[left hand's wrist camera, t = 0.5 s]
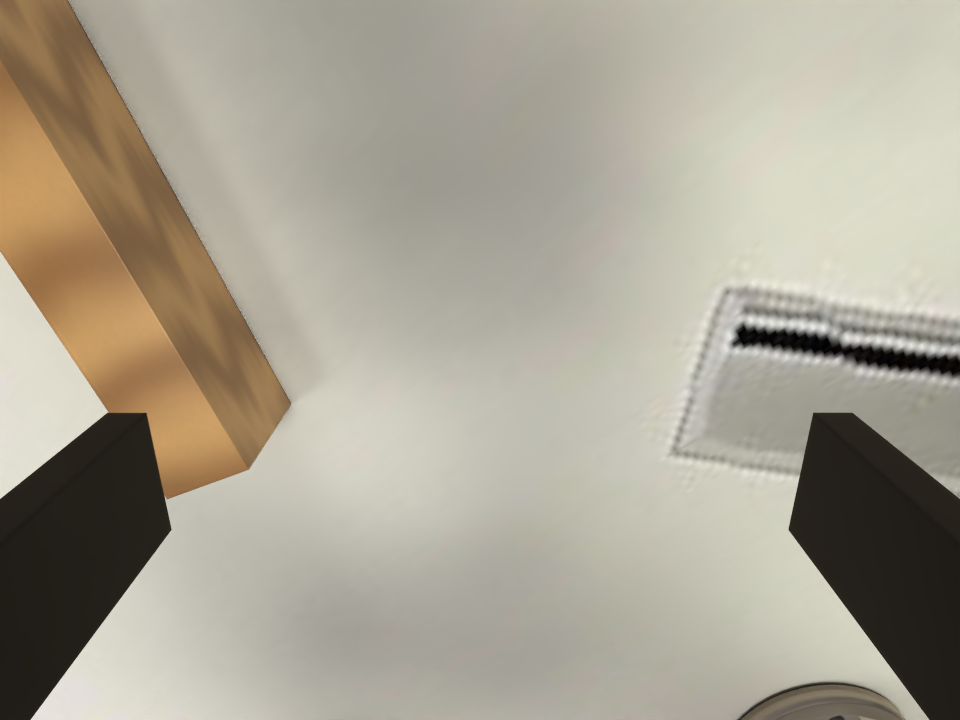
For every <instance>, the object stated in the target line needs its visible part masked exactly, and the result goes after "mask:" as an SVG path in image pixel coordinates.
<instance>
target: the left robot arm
mask: <svg viewBox="0 0 960 720" xmlns="http://www.w3.org/2000/svg"><path fill="white" fill-rule="evenodd" d="M170 531H171V525H170V520H169V516H168V511H167V506H166V502H165V497H164V492H163V487H162V483H161V478H160V473H159V469H158V464H157V459H156V455H155V450H154V445H153V441H152V436H151V431H150V426H149V422H148V417H147V413H107V414H106V415H104V416H103V417H102V418H101V419H99V420H98V421H97V422H96V423H94V424H93V425H92V426H91V427H89V428H88V429H87V430H86V431H84V432H83V433H82V434H81V435H79V436H78V437H77V438H76V439H74V440H73V441H72V442H71V443H70V444H68V445H67V446H66V447H65V448H63V449H62V450H61V451H60V452H58V453H57V454H56V455H55V456H53V457H52V458H51V459H50V460H48V461H47V462H46V463H45V464H43V465H42V466H41V467H40V468H38V469H37V470H36V471H35V472H33V473H32V474H31V475H30V476H28V477H27V478H26V479H25V480H23V481H22V482H21V483H20V484H18V485H17V486H16V487H15V488H13V489H12V490H11V491H10V492H8V493H7V494H6V495H5V496H4V497H2V498H1V499H0V720H31V718H32V717H33V716H34V714H35V713H36V712H37V710H38V709H39V708H40V706H41V705H42V703H43V702H44V701H45V699H46V698H47V697H48V695H49V694H50V693H51V691H52V690H53V689H54V687H55V686H56V685H57V683H58V682H59V681H60V679H61V678H62V677H63V675H64V674H65V672H66V671H67V670H68V668H69V667H70V666H71V664H72V663H73V662H74V660H75V659H76V658H77V656H78V655H79V654H80V652H81V651H82V650H83V648H84V647H85V646H86V644H87V643H88V641H89V640H90V639H91V637H92V636H93V635H94V633H95V632H96V631H97V629H98V628H99V627H100V625H101V624H102V623H103V621H104V620H105V619H106V617H107V616H108V615H109V613H110V612H111V610H112V609H113V608H114V606H115V605H116V604H117V602H118V601H119V600H120V598H121V597H122V596H123V594H124V593H125V592H126V590H127V589H128V588H129V586H130V585H131V584H132V582H133V581H134V579H135V578H136V577H137V575H138V574H139V573H140V571H141V570H142V569H143V567H144V566H145V565H146V563H147V562H148V561H149V559H150V558H151V557H152V555H153V554H154V553H155V551H156V550H157V548H158V547H159V546H160V544H161V543H162V542H163V540H164V539H165V538H166V536H167V535H168V534H169V532H170ZM789 531H790V532H791V534H792V535H793V536H794V538H795V539H796V540H797V542H798V543H799V544H800V546H801V547H802V548H803V550H804V551H805V553H806V554H807V555H808V557H809V558H810V559H811V561H812V562H813V563H814V565H815V566H816V567H817V569H818V570H819V571H820V573H821V574H822V575H823V577H824V578H825V579H826V581H827V582H828V584H829V585H830V586H831V588H832V589H833V590H834V592H835V593H836V594H837V596H838V597H839V598H840V600H841V601H842V602H843V604H844V605H845V606H846V608H847V609H848V610H849V612H850V613H851V615H852V616H853V617H854V619H855V620H856V621H857V623H858V624H859V625H860V627H861V628H862V629H863V631H864V632H865V633H866V635H867V636H868V637H869V639H870V640H871V641H872V643H873V644H874V646H875V647H876V648H877V650H878V651H879V652H880V654H881V655H882V656H883V658H884V659H885V660H886V662H887V663H888V664H889V666H890V667H891V668H892V670H893V671H894V672H895V674H896V675H897V677H898V678H899V679H900V681H901V682H902V683H903V685H904V686H905V687H906V689H907V690H908V691H909V693H910V694H911V695H912V697H913V698H914V699H915V701H916V702H917V703H918V705H919V706H920V708H921V709H922V710H923V712H924V713H925V714H926V716H927V717H928V718H929V720H960V499H959V498H958V497H956V496H955V495H954V494H953V493H952V492H950V491H949V490H948V489H947V488H945V487H944V486H943V485H942V484H940V483H939V482H938V481H937V480H935V479H934V478H933V477H932V476H930V475H929V474H928V473H927V472H925V471H924V470H923V469H922V468H920V467H919V466H918V465H917V464H915V463H914V462H913V461H912V460H910V459H909V458H908V457H907V456H905V455H904V454H903V453H902V452H900V451H899V450H898V449H897V448H895V447H894V446H893V445H892V444H890V443H889V442H888V441H887V440H886V439H884V438H883V437H882V436H881V435H879V434H878V433H877V432H876V431H874V430H873V429H872V428H871V427H869V426H868V425H867V424H866V423H864V422H863V421H862V420H861V419H859V418H858V417H857V416H856V415H854V414H853V413H813V417H812V422H811V426H810V431H809V436H808V441H807V445H806V450H805V455H804V459H803V464H802V469H801V473H800V478H799V483H798V487H797V492H796V497H795V502H794V506H793V511H792V516H791V520H790V525H789Z"/></svg>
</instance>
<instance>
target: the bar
mask: <svg viewBox="0 0 960 720" xmlns="http://www.w3.org/2000/svg"><path fill="white" fill-rule="evenodd" d="M0 252H1V253H2V255H3V256H4V257H5V259H6V260H7V262H8V263H9V265H10V266H11V268H12V269H13V271H14V272H15V274H16V275H17V277H18V278H19V280H20V281H21V283H22V284H23V286H24V287H25V289H26V290H27V292H28V293H29V295H30V296H31V298H32V299H33V301H34V302H35V304H36V305H37V307H38V308H39V309H40V311H41V312H42V314H43V315H44V317H45V318H46V320H47V321H48V323H49V324H50V326H51V327H52V329H53V330H54V332H55V333H56V335H57V336H58V338H59V339H60V341H61V342H62V344H63V345H64V347H65V348H66V350H67V351H68V353H69V354H70V356H71V357H72V359H73V360H74V361H75V363H76V364H77V366H78V367H79V369H80V370H81V372H82V373H83V375H84V376H85V378H86V379H87V381H88V382H89V384H90V385H91V387H92V388H93V390H94V391H95V393H96V394H97V396H98V397H99V399H100V400H101V402H102V403H103V405H104V406H105V408H106V409H107V411H108V412H109V413H147V417H148V422H149V426H150V431H151V436H152V441H153V445H154V450H155V455H156V459H157V464H158V469H159V473H160V478H161V483H162V487H163V492H164V495H165V497H166V498H167V499H169V498H172V497H174V496H177V495H180V494H183V493H186V492H188V491H191V490H194V489H197V488H199V487H202V486H205V485H208V484H210V483H213V482H216V481H219V480H221V479H224V478H227V477H230V476H232V475H235V474H238V473H241V472H243V471H246V470H249V468H250V467H251V465H252V464H253V462H254V461H255V459H256V458H257V456H258V455H259V453H260V452H261V450H262V448H263V447H264V445H265V444H266V442H267V441H268V439H269V438H270V436H271V435H272V433H273V432H274V430H275V429H276V427H277V425H278V424H279V422H280V421H281V419H282V418H283V416H284V415H285V413H286V412H287V410H288V409H289V407H290V406H291V403H290V401H289V400H288V398H287V396H286V394H285V392H284V391H283V389H282V387H281V385H280V383H279V382H278V380H277V378H276V376H275V374H274V373H273V371H272V369H271V367H270V365H269V364H268V362H267V360H266V358H265V356H264V355H263V353H262V351H261V349H260V347H259V346H258V344H257V342H256V340H255V338H254V337H253V335H252V333H251V331H250V329H249V328H248V326H247V324H246V322H245V320H244V319H243V317H242V315H241V313H240V311H239V310H238V308H237V306H236V304H235V302H234V301H233V299H232V297H231V295H230V293H229V292H228V290H227V288H226V286H225V284H224V283H223V281H222V279H221V277H220V275H219V273H218V272H217V270H216V268H215V266H214V264H213V263H212V261H211V259H210V257H209V255H208V254H207V252H206V250H205V248H204V246H203V245H202V243H201V241H200V239H199V237H198V236H197V234H196V232H195V230H194V228H193V227H192V225H191V223H190V221H189V219H188V218H187V216H186V214H185V212H184V210H183V209H182V207H181V205H180V203H179V201H178V200H177V198H176V196H175V194H174V192H173V191H172V189H171V187H170V185H169V183H168V182H167V180H166V178H165V176H164V174H163V173H162V171H161V169H160V167H159V165H158V164H157V162H156V160H155V158H154V156H153V155H152V153H151V151H150V149H149V147H148V145H147V144H146V142H145V140H144V138H143V136H142V135H141V133H140V131H139V129H138V127H137V126H136V124H135V122H134V120H133V118H132V117H131V115H130V113H129V111H128V109H127V108H126V106H125V104H124V102H123V100H122V99H121V97H120V95H119V93H118V91H117V90H116V88H115V86H114V84H113V82H112V81H111V79H110V77H109V75H108V73H107V72H106V70H105V68H104V66H103V64H102V63H101V61H100V59H99V57H98V55H97V54H96V52H95V50H94V48H93V46H92V45H91V43H90V41H89V39H88V37H87V36H86V34H85V32H84V30H83V28H82V27H81V25H80V23H79V21H78V19H77V17H76V16H75V14H74V12H73V10H72V8H71V7H70V5H69V3H68V1H67V0H0Z"/></svg>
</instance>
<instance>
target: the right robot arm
mask: <svg viewBox="0 0 960 720" xmlns="http://www.w3.org/2000/svg"><path fill="white" fill-rule="evenodd" d="M741 720H905V719H904V718H903V716H902V715H901V713H900V712H899V711H898V709H897V708H896V707H895V706H894V705H893V704H892V703H890V702H889V701H888V700H887V699H885V698H883V697H882V696H880V695H878V694H876V693H874V692H871V691H868V690H866V689H862V688H858V687H853V686H846V685H818V686H810V687H805V688H800V689H796V690H793V691H789V692H787V693H784V694H781V695H779V696H776V697H774V698H772V699H770V700H768V701H766V702H764V703H763V704H761V705H759V706H758V707H756V708H755V709H753V710H752V711H751V712H749V713H748V714H747V715H746V716H745V717H743V718H742V719H741Z"/></svg>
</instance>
